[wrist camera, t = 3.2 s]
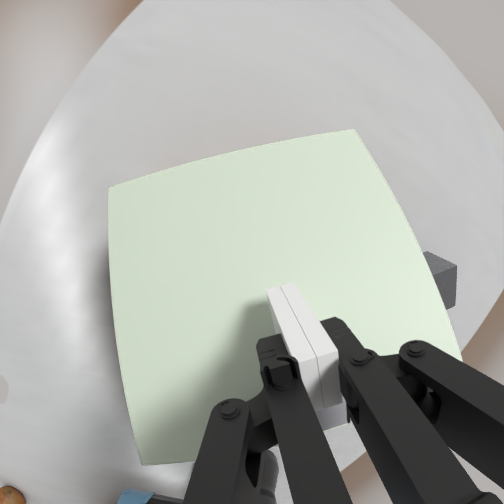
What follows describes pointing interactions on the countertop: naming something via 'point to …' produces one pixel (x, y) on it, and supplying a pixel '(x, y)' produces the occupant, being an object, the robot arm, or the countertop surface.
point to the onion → (11, 496)
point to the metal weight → (443, 278)
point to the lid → (254, 276)
